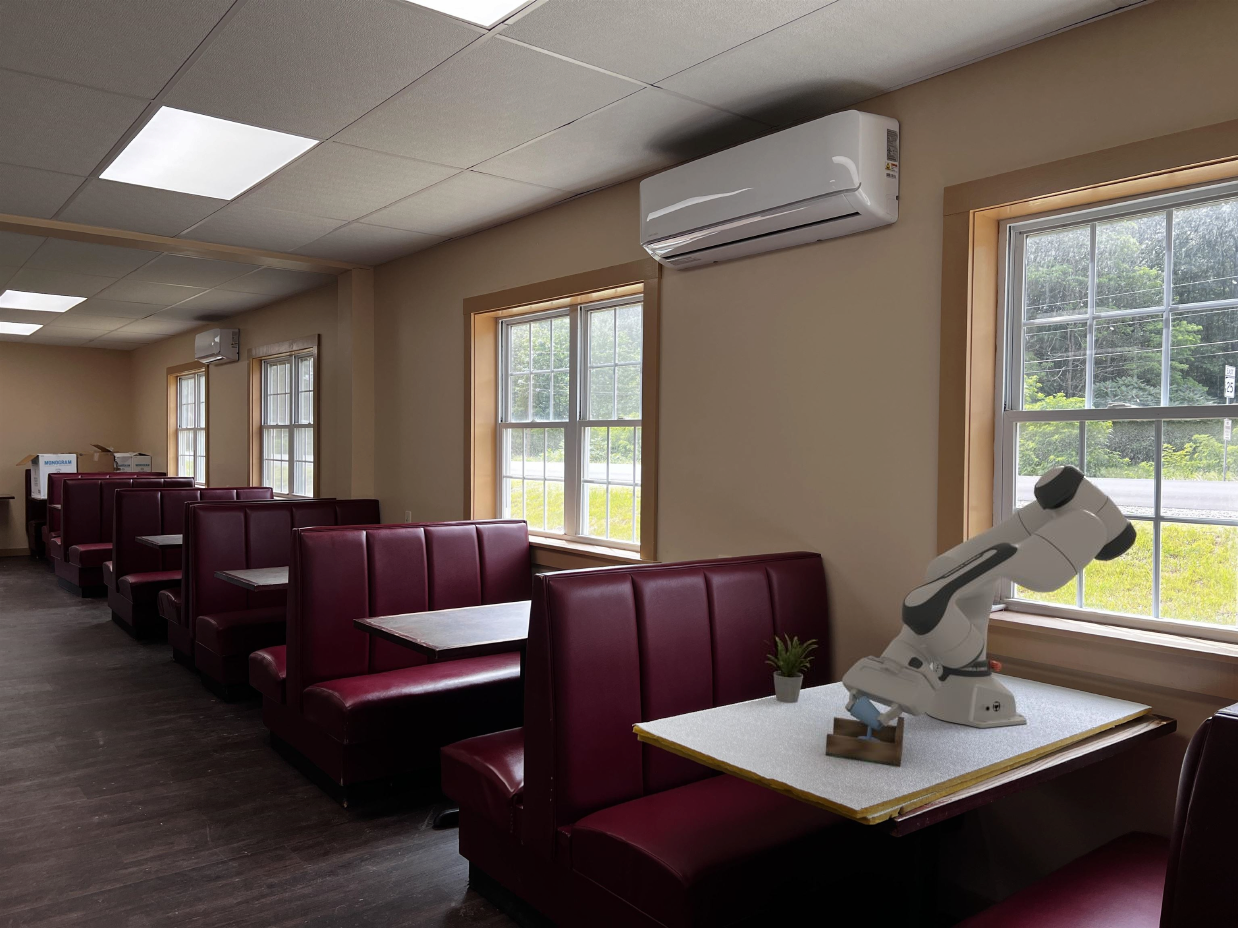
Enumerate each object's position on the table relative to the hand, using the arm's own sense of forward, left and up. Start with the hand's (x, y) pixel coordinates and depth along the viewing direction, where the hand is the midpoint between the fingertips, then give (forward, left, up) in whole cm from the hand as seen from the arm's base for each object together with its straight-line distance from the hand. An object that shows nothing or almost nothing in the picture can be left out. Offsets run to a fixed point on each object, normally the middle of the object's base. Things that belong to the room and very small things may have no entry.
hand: (864, 716), depth 176 cm
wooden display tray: (-1, 0, -7) cm, 7 cm away
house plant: (-2, -37, -7) cm, 38 cm away
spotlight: (-1, 0, -6) cm, 6 cm away
